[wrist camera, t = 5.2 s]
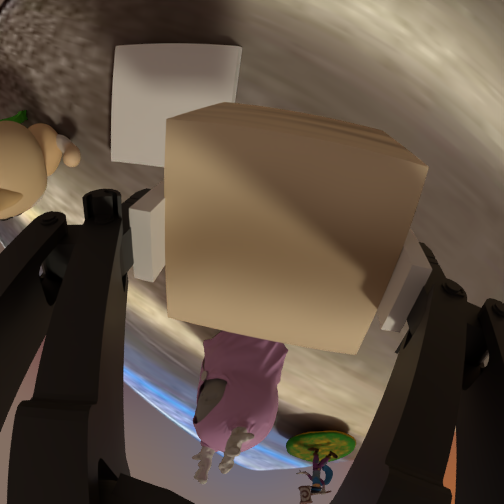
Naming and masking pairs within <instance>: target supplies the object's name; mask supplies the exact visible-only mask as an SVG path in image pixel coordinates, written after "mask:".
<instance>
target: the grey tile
mask: <svg viewBox="0 0 504 504" xmlns="http://www.w3.org/2000/svg"><path fill="white" fill-rule="evenodd" d="M241 54H242V47H240V46H230V45H215V44H189V43H161V44H135V45H120V46H116V48H115V59H114V71H113V87H112V111H111V161H116V162H125V163H134V164H143V165H151V166H159V167H164V165H165V136H166V119H168V118H171V117H174V116H177V115H180V114H184V113H187V112H190V111H193V110H197V109H200V108H204V107H207V106H211V105H215V104H218V103H222V102H231V103H235V99H236V91H237V84H238V76H239V69H240V62H241Z"/></svg>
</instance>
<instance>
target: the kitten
mask: <svg viewBox="0 0 504 504" xmlns="http://www.w3.org/2000/svg"><path fill="white" fill-rule="evenodd" d="M26 111H27V110H24V111H19V112H18V114H17V115H15V116H13V117H10V118H6V119H2V120H0V220H1V221H6V220H8V219H10V218H13V216H19V215H21V214H22V213H24V212H25V211H27V210H28V209H30V208H32V207H33V206H34V205H35V204H37V203H38V202H39V201H40V199H41V198H42V197H43V195H44V193H45V190H46V187H47V176H50V175H52V174H53V173H54V172H55V171H56V169H57V167H58V165H59V163H60V160H61V158H62V153H64V155H63V161H64V163H65V164H66V165H67V166H69V167H75V166H77V165H78V164H79V162H80V159H81V155H80V151H79V148H78V147H77V146H75V145H74V144H73V143H72V142H71V141H70V140H69V139H68V138H67V137H66V136H63V135H59V134H57V132H56V131H55V130H54V129H53V128H52V127H50V126H49V125H47V124H43V123H38V124H34V125H32V126H30V127H29V128H28V129H27V128H26V127H25V126H23V125H21V123H23V122H24V120H28V119H27V116H26ZM6 218H7V219H6Z"/></svg>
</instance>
